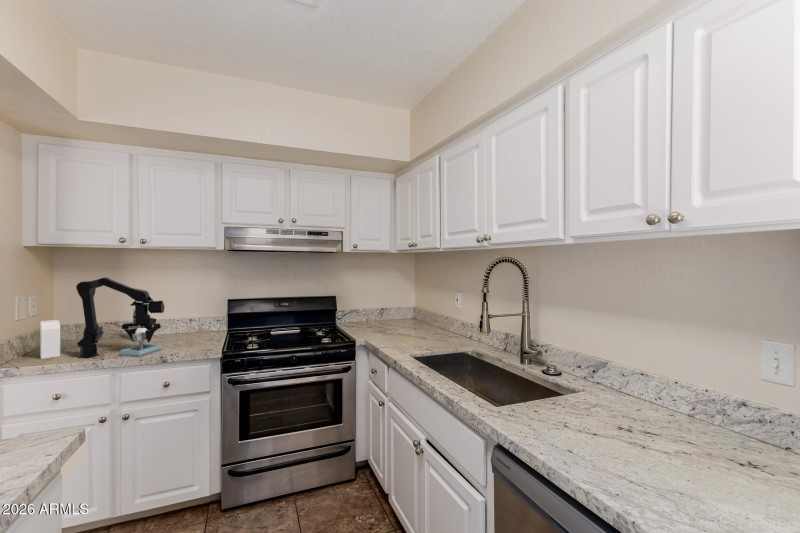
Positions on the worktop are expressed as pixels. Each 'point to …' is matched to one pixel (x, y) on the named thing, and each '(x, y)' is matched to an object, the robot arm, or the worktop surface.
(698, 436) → the worktop surface
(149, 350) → the tray
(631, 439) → the worktop surface
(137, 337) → the mechanical component
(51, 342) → the milk carton
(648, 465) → the worktop surface
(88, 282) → the robot arm
